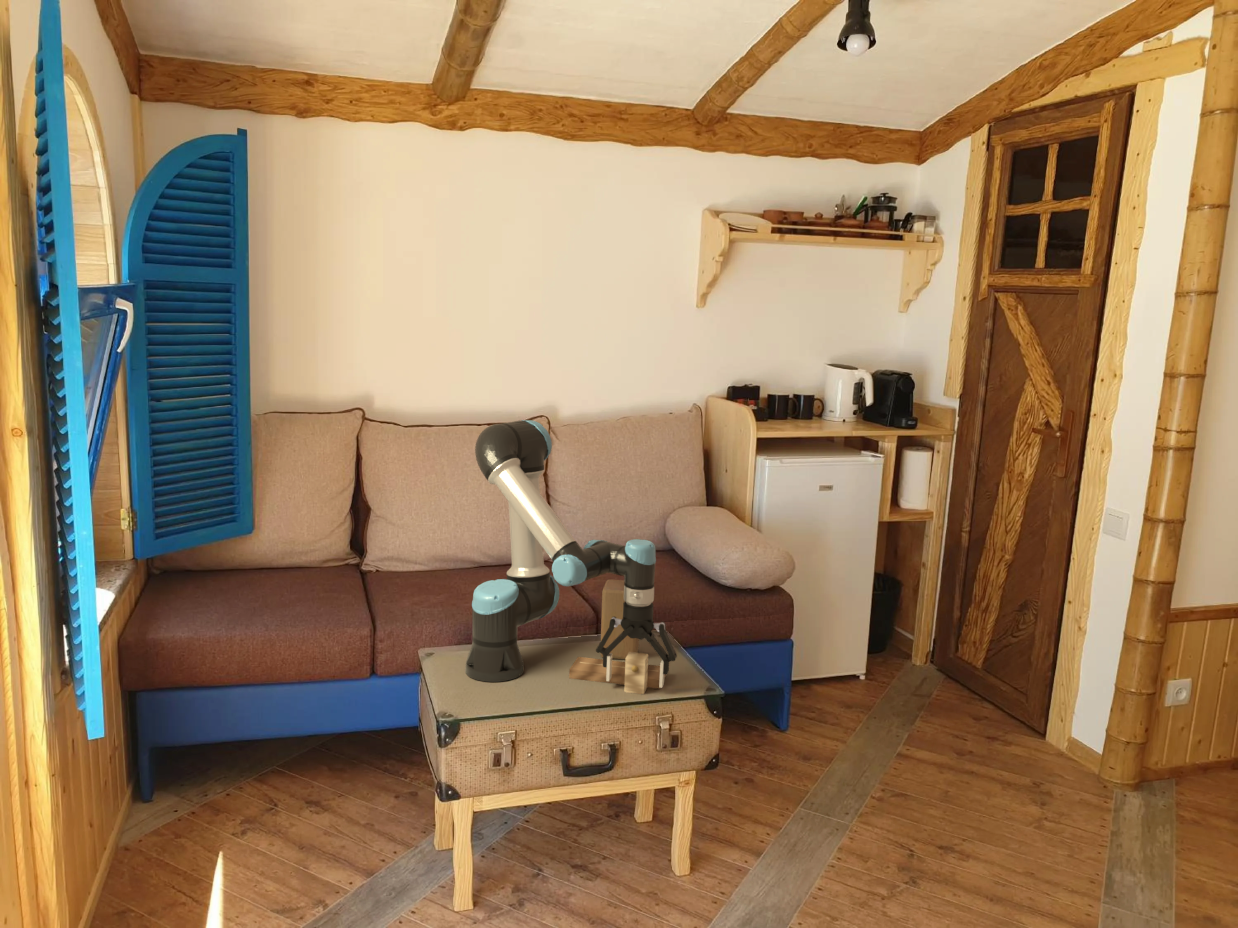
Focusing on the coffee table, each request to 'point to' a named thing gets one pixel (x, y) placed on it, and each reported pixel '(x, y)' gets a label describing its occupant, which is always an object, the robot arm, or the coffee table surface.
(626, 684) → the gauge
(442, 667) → the coffee table surface
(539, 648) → the coffee table surface
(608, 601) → the wooden block
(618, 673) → the board
